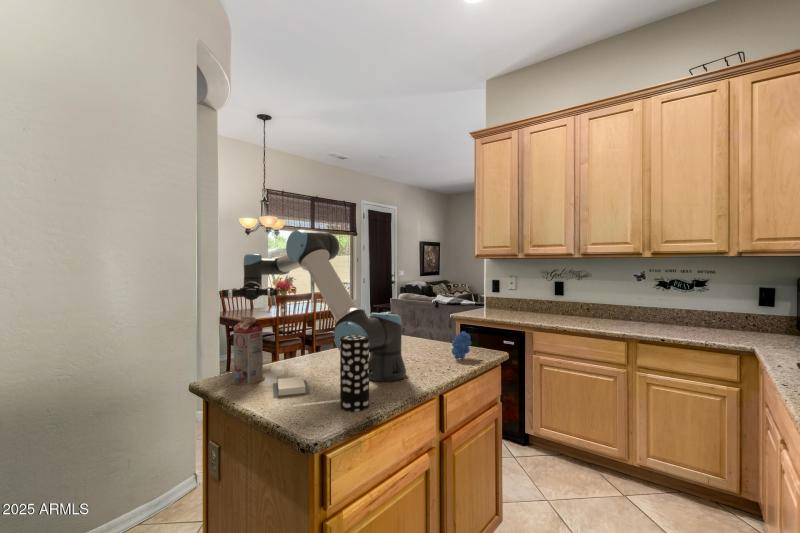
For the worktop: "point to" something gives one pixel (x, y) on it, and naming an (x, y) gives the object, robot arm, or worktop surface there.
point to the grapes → (461, 345)
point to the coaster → (248, 383)
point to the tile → (291, 386)
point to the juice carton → (248, 351)
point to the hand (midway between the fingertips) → (249, 294)
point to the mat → (276, 395)
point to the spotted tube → (354, 372)
